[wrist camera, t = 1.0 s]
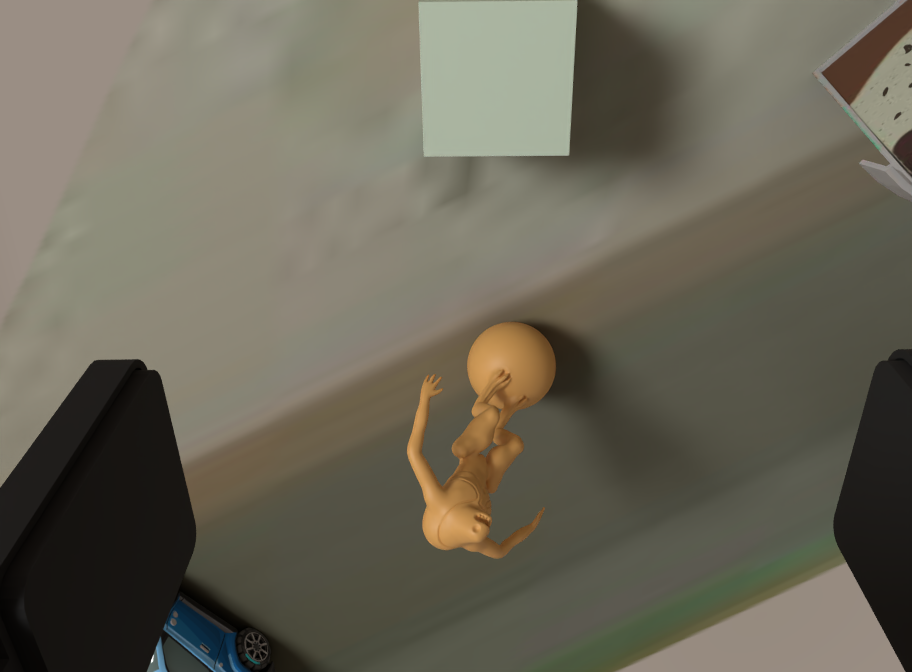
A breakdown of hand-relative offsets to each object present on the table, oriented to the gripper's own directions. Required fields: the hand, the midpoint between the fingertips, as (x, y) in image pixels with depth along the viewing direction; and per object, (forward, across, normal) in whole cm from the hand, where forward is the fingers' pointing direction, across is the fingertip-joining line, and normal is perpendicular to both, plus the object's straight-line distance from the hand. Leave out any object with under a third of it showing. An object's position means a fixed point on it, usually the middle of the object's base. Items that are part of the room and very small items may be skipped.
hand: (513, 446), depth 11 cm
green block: (+25, 0, 0) cm, 25 cm away
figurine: (+25, 0, +14) cm, 29 cm away
